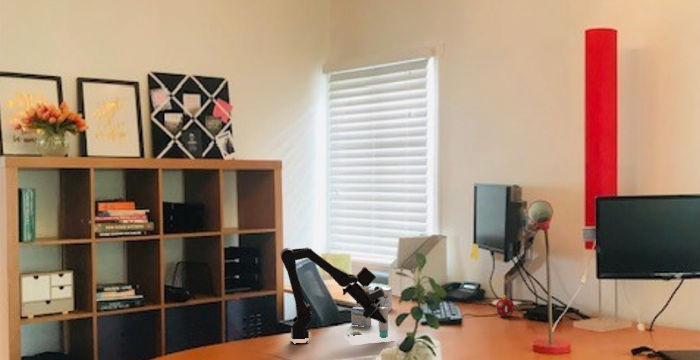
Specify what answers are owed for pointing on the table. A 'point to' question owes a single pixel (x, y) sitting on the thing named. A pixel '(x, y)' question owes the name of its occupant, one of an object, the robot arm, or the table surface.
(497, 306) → the christmas ornament
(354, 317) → the medicine box
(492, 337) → the table surface
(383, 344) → the table surface
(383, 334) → the beige teal tall box
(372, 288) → the light bulb box
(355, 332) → the button
